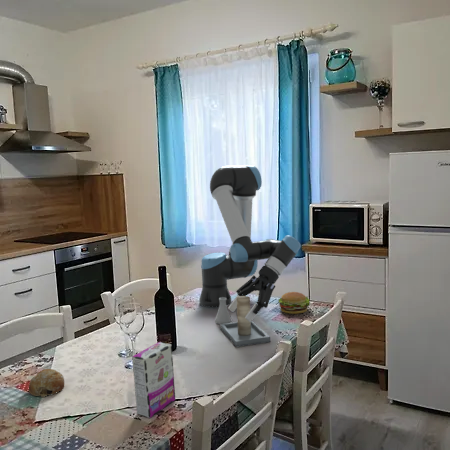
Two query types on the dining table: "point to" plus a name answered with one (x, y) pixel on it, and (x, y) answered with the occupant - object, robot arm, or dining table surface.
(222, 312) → the flask
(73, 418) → the dining table surface
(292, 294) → the food
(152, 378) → the candy bar box
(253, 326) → the tray
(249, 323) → the birch peg
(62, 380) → the bread roll
